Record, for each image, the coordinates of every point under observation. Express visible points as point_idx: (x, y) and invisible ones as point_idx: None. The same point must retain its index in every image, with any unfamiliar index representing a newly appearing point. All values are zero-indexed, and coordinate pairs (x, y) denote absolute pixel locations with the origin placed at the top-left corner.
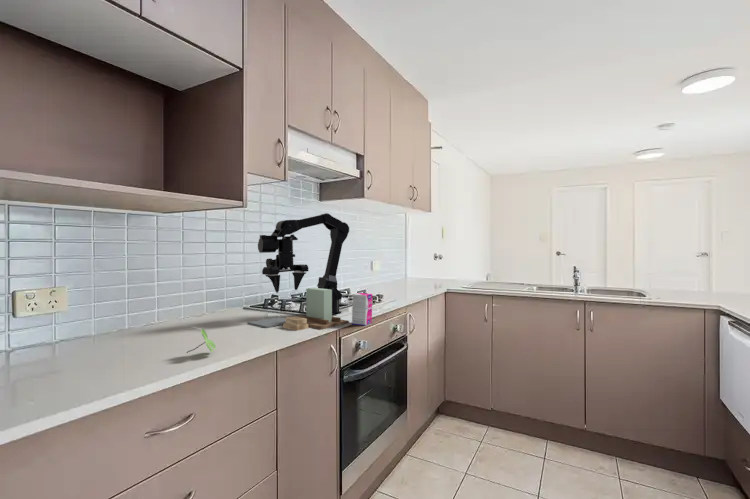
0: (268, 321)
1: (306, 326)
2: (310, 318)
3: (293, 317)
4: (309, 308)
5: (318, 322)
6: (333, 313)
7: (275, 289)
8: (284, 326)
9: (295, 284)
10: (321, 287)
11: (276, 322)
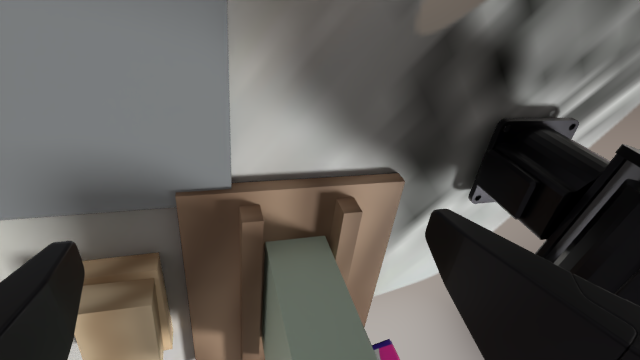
0: (31, 84)
1: None
2: (241, 305)
3: (119, 328)
4: (276, 320)
5: (240, 335)
6: (483, 202)
7: (15, 291)
8: None
9: (476, 276)
10: (632, 273)
11: (76, 163)
